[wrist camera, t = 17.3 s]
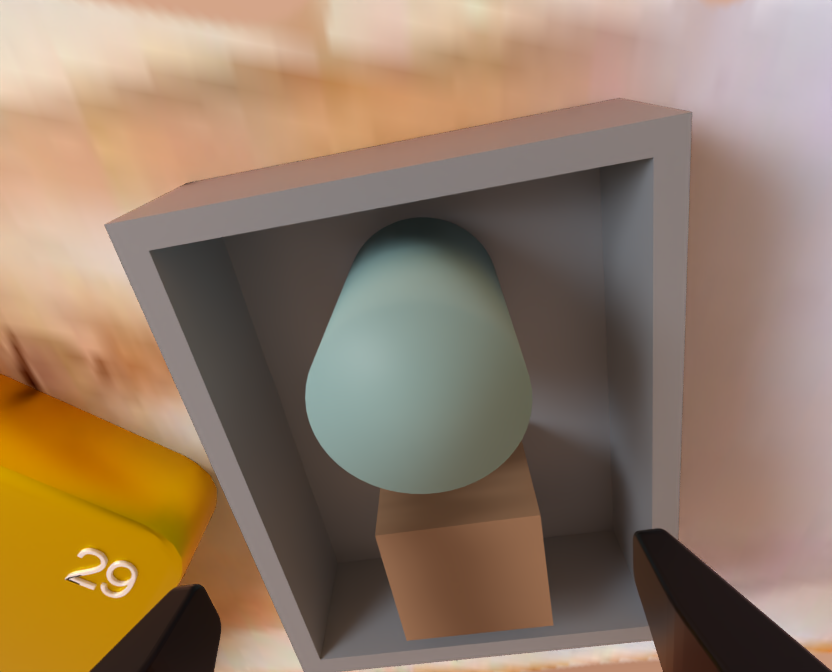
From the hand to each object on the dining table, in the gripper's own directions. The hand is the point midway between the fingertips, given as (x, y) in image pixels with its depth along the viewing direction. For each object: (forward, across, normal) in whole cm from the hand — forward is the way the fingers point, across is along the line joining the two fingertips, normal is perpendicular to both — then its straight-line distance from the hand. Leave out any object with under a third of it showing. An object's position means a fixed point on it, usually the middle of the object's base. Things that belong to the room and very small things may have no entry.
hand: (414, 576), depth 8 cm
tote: (+12, 0, +4) cm, 13 cm away
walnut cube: (+11, 0, +8) cm, 14 cm away
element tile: (+13, +20, +8) cm, 25 cm away
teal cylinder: (+11, 0, 0) cm, 11 cm away
